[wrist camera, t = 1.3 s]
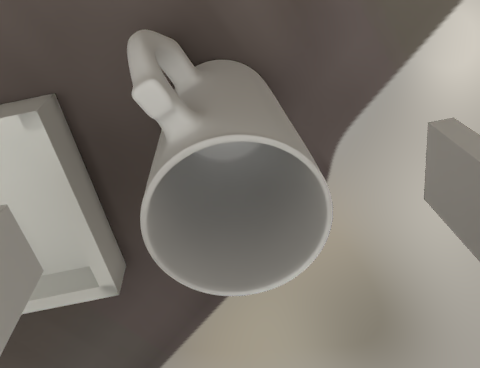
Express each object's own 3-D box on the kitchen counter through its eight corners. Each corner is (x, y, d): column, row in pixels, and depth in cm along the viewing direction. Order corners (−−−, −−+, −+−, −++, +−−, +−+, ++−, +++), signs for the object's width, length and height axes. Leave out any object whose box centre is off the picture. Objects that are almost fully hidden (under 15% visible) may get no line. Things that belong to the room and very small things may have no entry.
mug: (296, 126, 26) (363, 243, 15) (207, 179, 27) (212, 321, 16) (205, -28, 21) (212, -10, 11) (103, 46, 22) (20, 126, 12)
